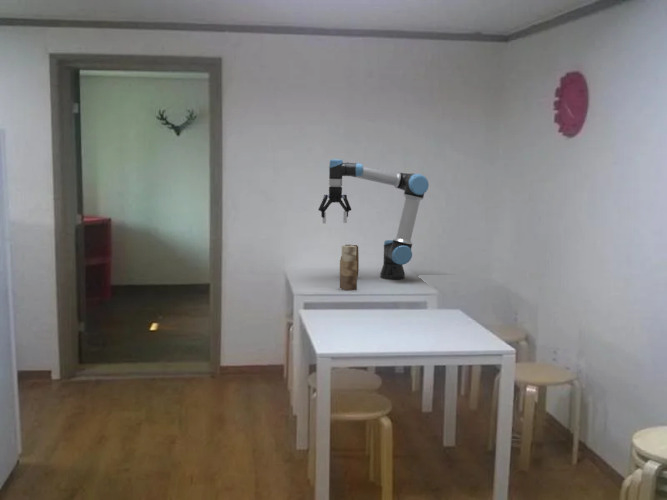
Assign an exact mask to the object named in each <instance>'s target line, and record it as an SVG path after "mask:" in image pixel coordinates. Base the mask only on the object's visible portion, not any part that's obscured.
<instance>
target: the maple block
mask: <svg viewBox="0 0 667 500" xmlns="http://www.w3.org/2000/svg"><path fill="white" fill-rule="evenodd" d="M349 245H350V246H345V245H341V256H342V260H343V261H346V262H349V261H356V249H357V247H355V246H352V245H353V244H349Z"/></svg>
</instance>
